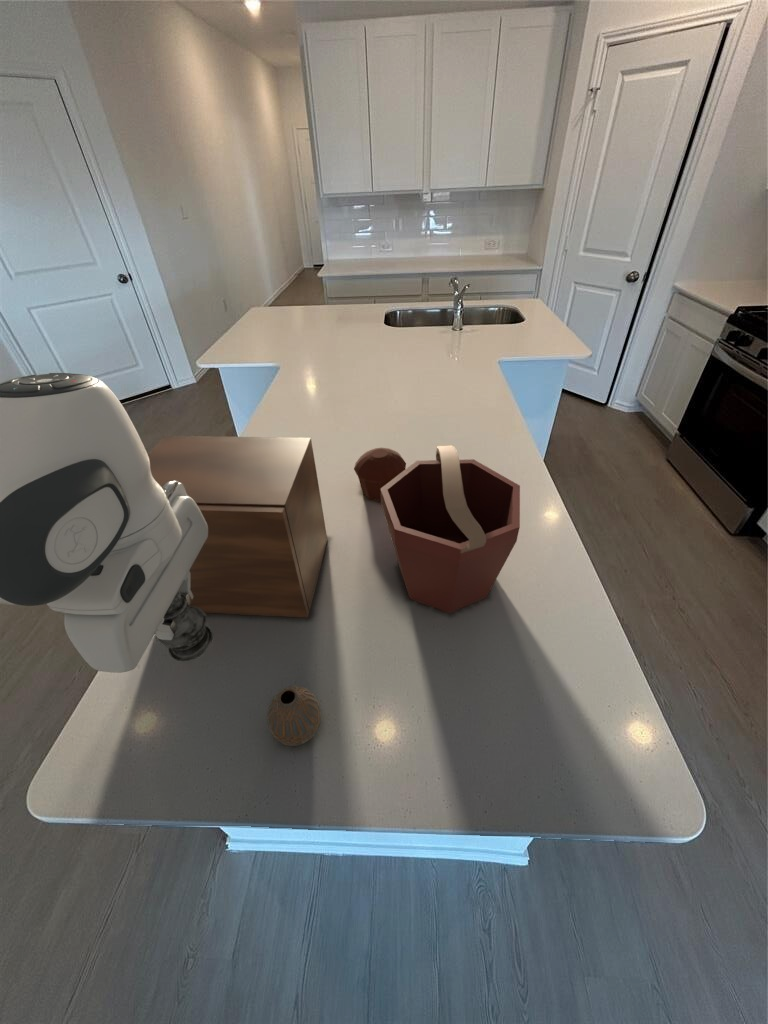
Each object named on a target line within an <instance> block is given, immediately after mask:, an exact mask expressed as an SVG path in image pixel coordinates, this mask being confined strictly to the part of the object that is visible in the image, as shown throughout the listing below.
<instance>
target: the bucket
mask: <svg viewBox="0 0 768 1024" xmlns="http://www.w3.org/2000/svg"><path fill="white" fill-rule="evenodd" d="M380 490H381V502H380V505H381V507H382V511H383V515H384V518H385V522H386V525H387V528H388V531H389V532H388V533H389V535H390V539H391V542H392V547H393V549H394V553H395V557H396V561H397V563H398V567H399V571H400V573H401V576H402V580H403V583H404V585H405V588H406V591H407V594H408V597H409V599H410V600H412V601H414V602H418V603H421V604H423V605H426V606H429V607H432V608H435V609H436V610H440V611H443V612H446V613H448V614H451V613H453V612H456V611H458V610H461V609H463V608H465V607H468V606H470V605H472V604H475V603H477V602H479V601H482V600H484V599H486V598H487V597H488V595H489V594H490V591H491V589H492V588H493V586H494V584H495V582H496V580H497V578H498V577H499V575H500V573H501V571H502V569H503V567H504V566H505V564H506V562H507V560H508V558H509V557H510V555H511V552H512V551H513V549H514V547H515V546H516V544H517V541H518V538H519V537H518V536H519V532H520V527H521V512H520V511H521V485H520V484H518V483H516V482H515V481H513V480H511V479H509V478H507V477H506V476H504V475H502V474H500V473H498V472H496V471H495V470H493V469H491V468H490V467H488V466H487V465H484V464H483V463H481V462H479V461H478V460H476V459H473V458H472V459H470V458H469V459H460V458H459V453H458V450H457V448H456V447H455V445H437V447H436V450H435V459H434V460H433V459H432V460H416V461H414V462H413V463H412V464H410V465H409V466H408V467H406V468H405V470H404V471H403V472H401V473H400V474H399V475H397V476H396V477H395V478H394V479H392V480H391V481H390V482H388V483H387V484H386V485H385V486H383V487H382V488H381V489H380Z"/></svg>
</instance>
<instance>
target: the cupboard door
mask: <svg viewBox="0 0 768 1024" xmlns="http://www.w3.org/2000/svg"><path fill="white" fill-rule="evenodd" d="M197 506H198V508H199V509H200V511H201V513H202V515H203V517H204V519H205V521H206V523H207V526H208V537H207V539H206V541H205V543H204V545H203V546H202V548H201V550H200V552H199V554H198V556H197V557H196V559H195V561H194V563H193V565H192V566H191V568H190V570H189V571H190V590H191V592H192V594H193V596H194V597H193V599H192V601H191V603H190V605H189V606H194V607H198V608H200V609H202V610H203V611H204V612H205V614H222V615H243V616H265V617H267V616H268V617H286V618H287V617H288V618H289V617H290V618H308V617H309V613H310V611H309V610H308V606H307V601H306V597H305V593H304V589H303V584H302V580H301V576H300V572H299V567H298V563H297V559H296V554H295V550H294V546H293V542H292V537H291V533H290V529H289V525H288V520H287V516H286V512H285V507H258V506H219V505H197Z"/></svg>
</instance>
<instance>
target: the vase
mask: <svg viewBox="0 0 768 1024" xmlns="http://www.w3.org/2000/svg"><path fill="white" fill-rule="evenodd" d="M321 712H322V711H321V706H320V703H319V701H318V699H317V698H316V696H315V695H314V694H313V692H311V691H310V690H309V689H307V688H306V687H303V686H299V685H291V686H288V687H285V688H283V689H282V690H280V691H278V692H277V693H276V694H275V695H274V697H273V698H272V700H271V702H270V703H269V706H268V710H267V725H268V728H269V730H270V733H271V734H272V736H273V737H274V738H275V740H276V741H278V742H279V743H281V744H282V745H285V746H289V747H297V746H301V745H304V744H306V743H307V742H309V741H311V739H312V738H313V737H314V736H315V735H316V733H317V731H318V729H319V726H320V724H321V719H322V716H321V714H322V713H321Z"/></svg>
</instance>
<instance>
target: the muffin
mask: <svg viewBox="0 0 768 1024" xmlns="http://www.w3.org/2000/svg"><path fill="white" fill-rule="evenodd" d="M353 467H354V468H353V470H354V472H355V474H356V476H357V477H358V478H357V479H358V481H359V485H360V488H361V492H362V494H363V495H365V496H366V497H367V499H368V500H371V501H376V502H380V503H381V490H380V489H381V488H382V487H383V486H385V485H386V484H387V483H388V482H390V481H391V480H392V479H394V478H395V477H396V476H397V475H399V474H400V473H401V472H403V471H404V470H405V469H407V462H406V461H405V459H404V458H403V457H402V455H401V454H400V453H399V452H398V451H396V450H394V449H391V448H388V447H375V448H373V449H370V450H367V451H365V452H364V453H363V454H362V455H361V456H360V457H358V459H357V460H356V461H355V464H354V466H353Z"/></svg>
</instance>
